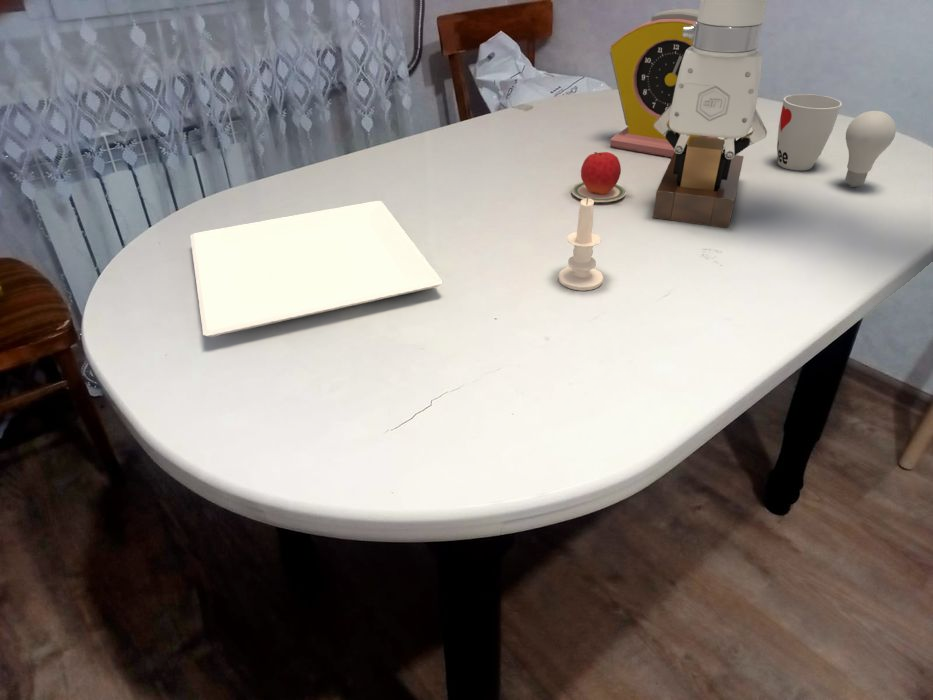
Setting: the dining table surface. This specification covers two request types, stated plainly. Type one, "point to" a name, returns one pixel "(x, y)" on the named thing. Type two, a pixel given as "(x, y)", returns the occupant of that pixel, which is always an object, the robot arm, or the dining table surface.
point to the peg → (702, 163)
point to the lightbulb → (867, 143)
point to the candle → (582, 253)
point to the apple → (600, 178)
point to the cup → (805, 129)
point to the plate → (304, 266)
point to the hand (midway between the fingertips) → (699, 180)
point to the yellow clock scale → (650, 78)
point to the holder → (697, 198)
